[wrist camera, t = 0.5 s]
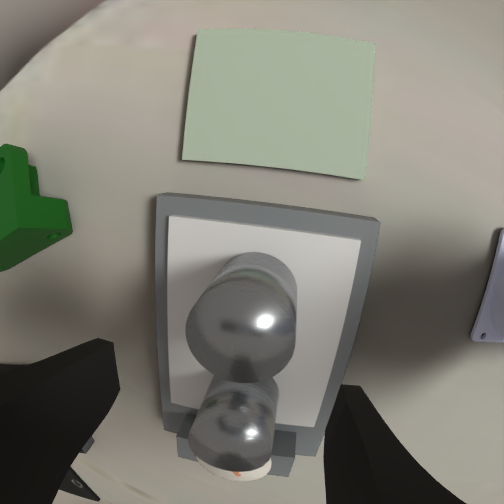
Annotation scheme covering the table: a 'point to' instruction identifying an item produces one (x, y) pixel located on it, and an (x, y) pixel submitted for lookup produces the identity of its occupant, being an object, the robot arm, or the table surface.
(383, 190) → the table surface
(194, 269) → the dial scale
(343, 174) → the mat
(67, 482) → the cell phone
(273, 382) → the cylinder
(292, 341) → the cylinder
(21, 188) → the clamp
